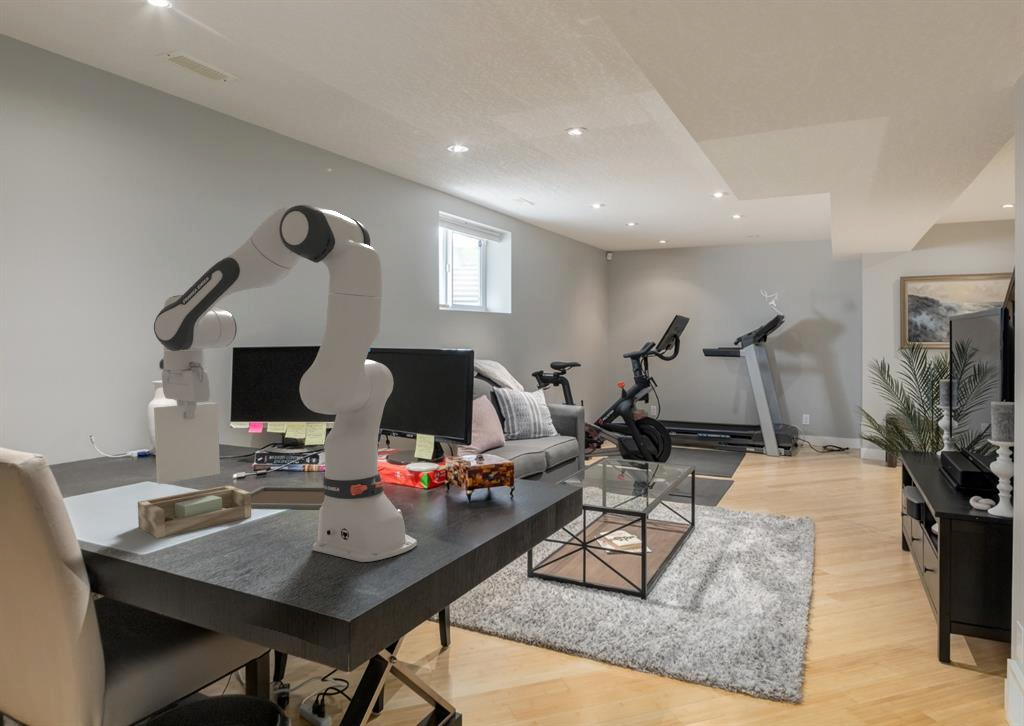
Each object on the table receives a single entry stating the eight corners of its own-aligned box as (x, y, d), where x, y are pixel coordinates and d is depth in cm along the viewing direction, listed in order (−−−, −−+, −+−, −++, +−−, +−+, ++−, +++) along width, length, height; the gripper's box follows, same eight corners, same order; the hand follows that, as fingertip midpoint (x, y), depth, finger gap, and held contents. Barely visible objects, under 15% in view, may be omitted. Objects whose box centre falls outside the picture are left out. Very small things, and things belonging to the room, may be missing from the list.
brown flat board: (325, 504, 158) (215, 503, 161) (325, 511, 158) (215, 509, 161) (351, 487, 177) (252, 486, 180) (351, 492, 177) (252, 491, 180)
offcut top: (222, 509, 149) (222, 497, 149) (185, 519, 142) (184, 506, 142) (212, 507, 152) (211, 495, 152) (175, 516, 144) (174, 503, 144)
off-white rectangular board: (220, 473, 155) (217, 402, 154) (159, 483, 145) (156, 408, 144) (217, 472, 156) (214, 402, 155) (157, 483, 146) (153, 407, 145)
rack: (251, 516, 152) (250, 492, 152) (157, 538, 136) (156, 511, 136) (229, 507, 160) (228, 485, 160) (138, 526, 145) (137, 501, 145)
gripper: (215, 362, 145) (218, 420, 145) (183, 361, 158) (185, 414, 159) (187, 363, 140) (189, 423, 140) (156, 362, 154) (158, 417, 154)
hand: (187, 418), depth 150 cm, fingers closed on off-white rectangular board, 2 cm apart
